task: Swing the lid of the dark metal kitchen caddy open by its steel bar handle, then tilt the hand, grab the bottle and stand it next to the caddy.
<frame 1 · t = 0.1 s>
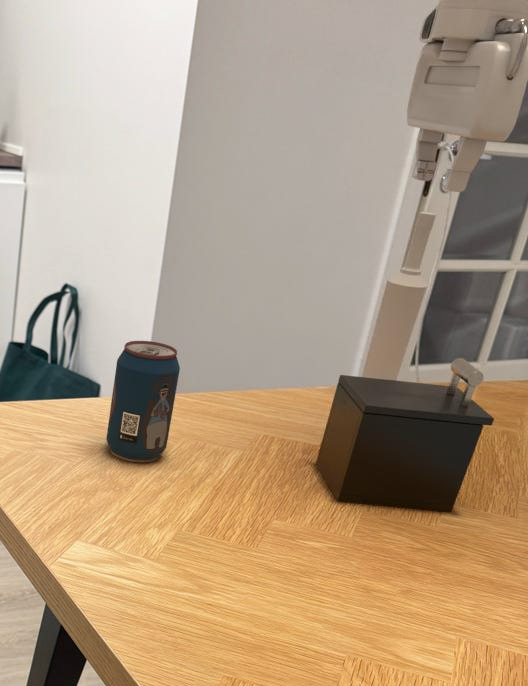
hand: (436, 185, 91), 30 cm above the table, tool pointing down, fingers open, 8 cm apart
bin lid: (418, 381, 94), point 12 cm above the table, hinge at 0.0°
soda can: (134, 454, 103), on the table
bin: (380, 487, 101), on the table
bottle: (370, 404, 128), on the table
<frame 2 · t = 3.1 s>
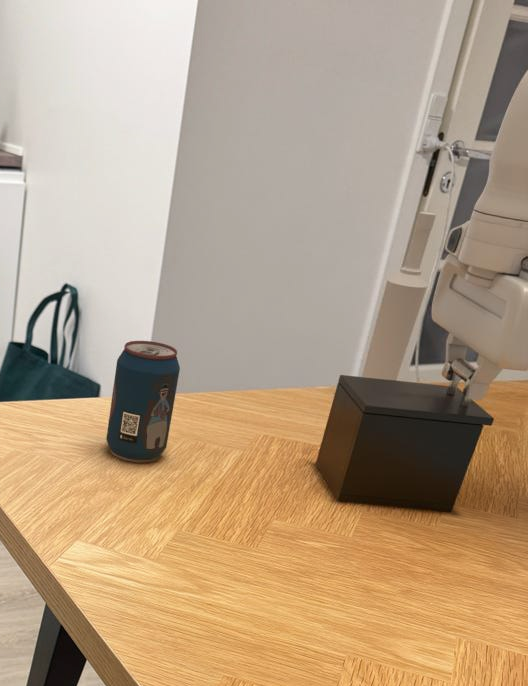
hand: (461, 388, 95), 12 cm above the table, tool pointing down, fingers closed on bin lid, 5 cm apart
bin lid: (418, 381, 94), point 12 cm above the table, hinge at 0.0°, touching gripper
everything else where it was.
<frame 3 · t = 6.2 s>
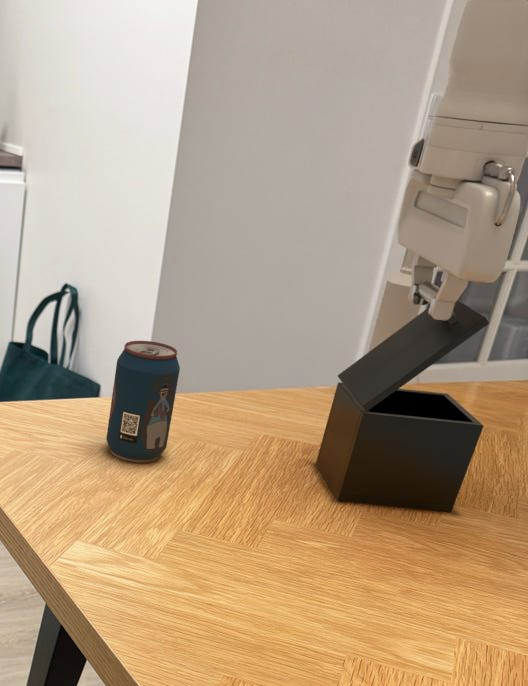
hand: (427, 310, 90), 19 cm above the table, tool pointing down, fingers closed on bin lid, 5 cm apart
bin lid: (398, 337, 92), point 16 cm above the table, hinge at 46.6°, touching gripper
everything else where it was.
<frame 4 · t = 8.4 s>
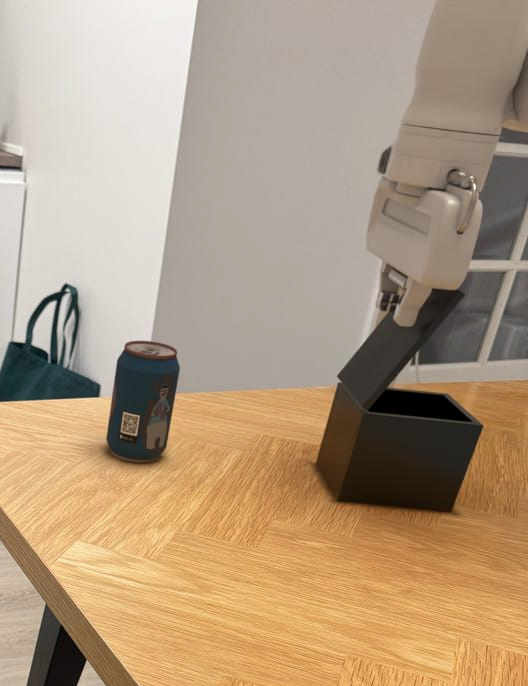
hand: (393, 317, 91), 18 cm above the table, tool pointing down, fingers open, 5 cm apart
bin lid: (382, 328, 91), point 17 cm above the table, hinge at 63.6°
everything else where it was.
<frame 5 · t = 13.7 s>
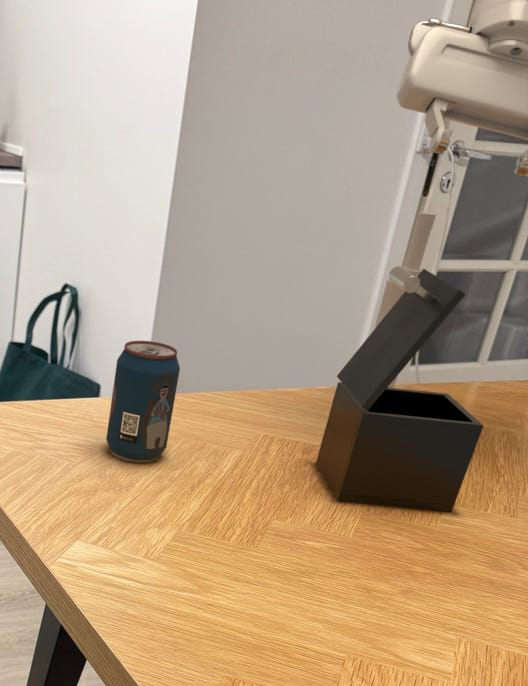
hand: (481, 161, 93), 32 cm above the table, tool tilted 35°, fingers open, 8 cm apart
nothing on the table moved.
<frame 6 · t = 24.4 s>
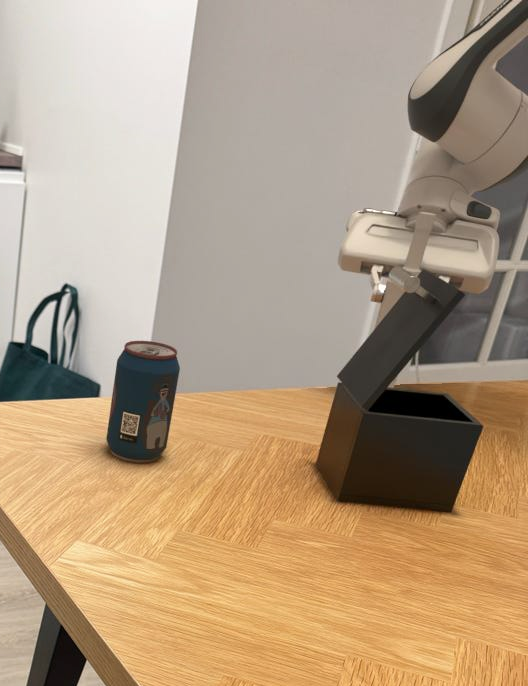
hand: (400, 304, 120), 14 cm above the table, tool tilted 45°, fingers closed on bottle, 5 cm apart
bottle: (370, 404, 128), on the table, touching gripper
everything else where it was.
when the fingers open (14 cm above the table, at t = 34.0 s): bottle stays where it is, on the table.
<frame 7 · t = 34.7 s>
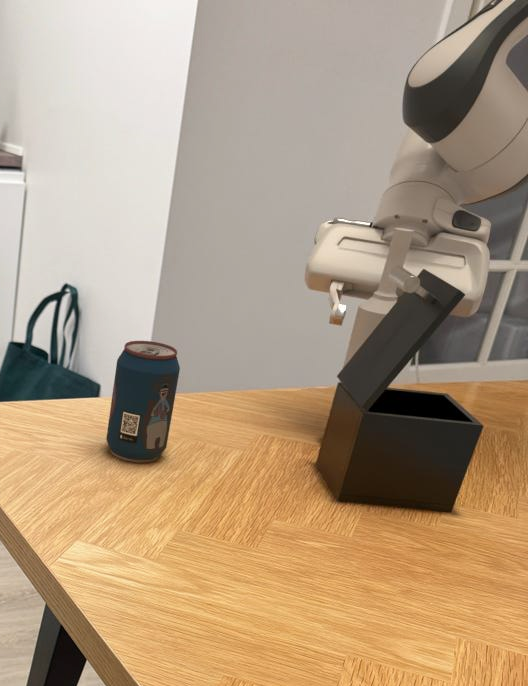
hand: (376, 329, 104), 14 cm above the table, tool tilted 45°, fingers open, 8 cm apart
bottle: (342, 446, 112), on the table
everything else where it was.
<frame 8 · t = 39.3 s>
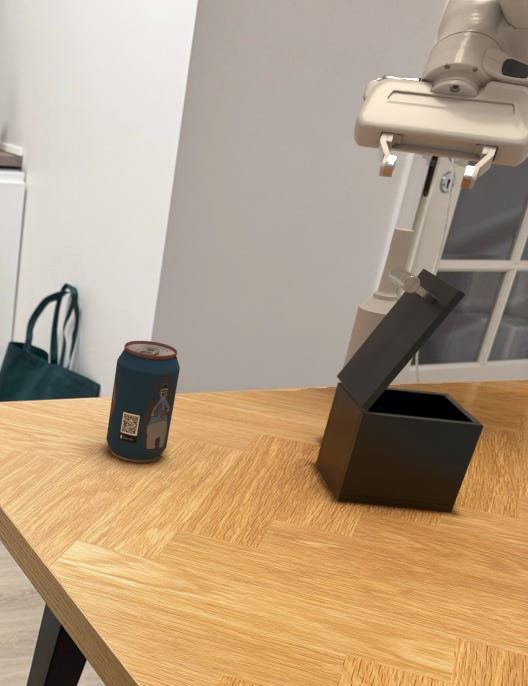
hand: (426, 178, 105), 29 cm above the table, tool tilted 45°, fingers open, 8 cm apart
nothing on the table moved.
at the end: bin lid at +64° (first picture: +0°); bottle inside the target area (0.2 cm from its centre), on the table; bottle tilted 0° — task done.
